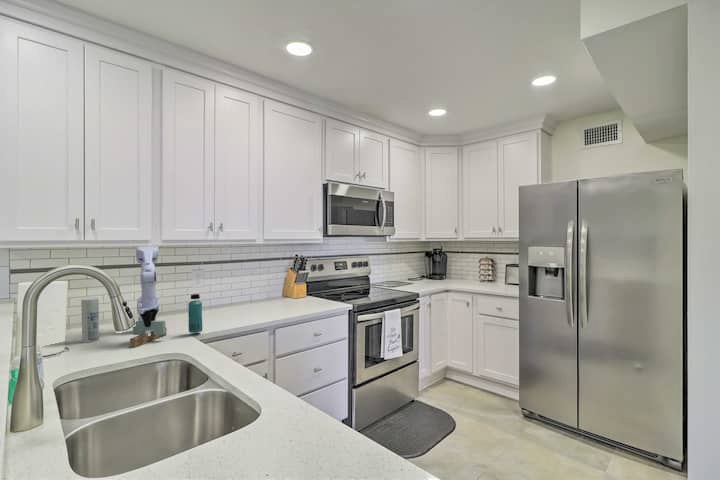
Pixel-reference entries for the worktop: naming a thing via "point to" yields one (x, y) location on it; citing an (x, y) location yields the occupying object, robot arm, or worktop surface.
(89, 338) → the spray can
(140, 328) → the slotted plate
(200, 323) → the beverage bottle
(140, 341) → the slotted board
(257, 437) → the worktop surface
